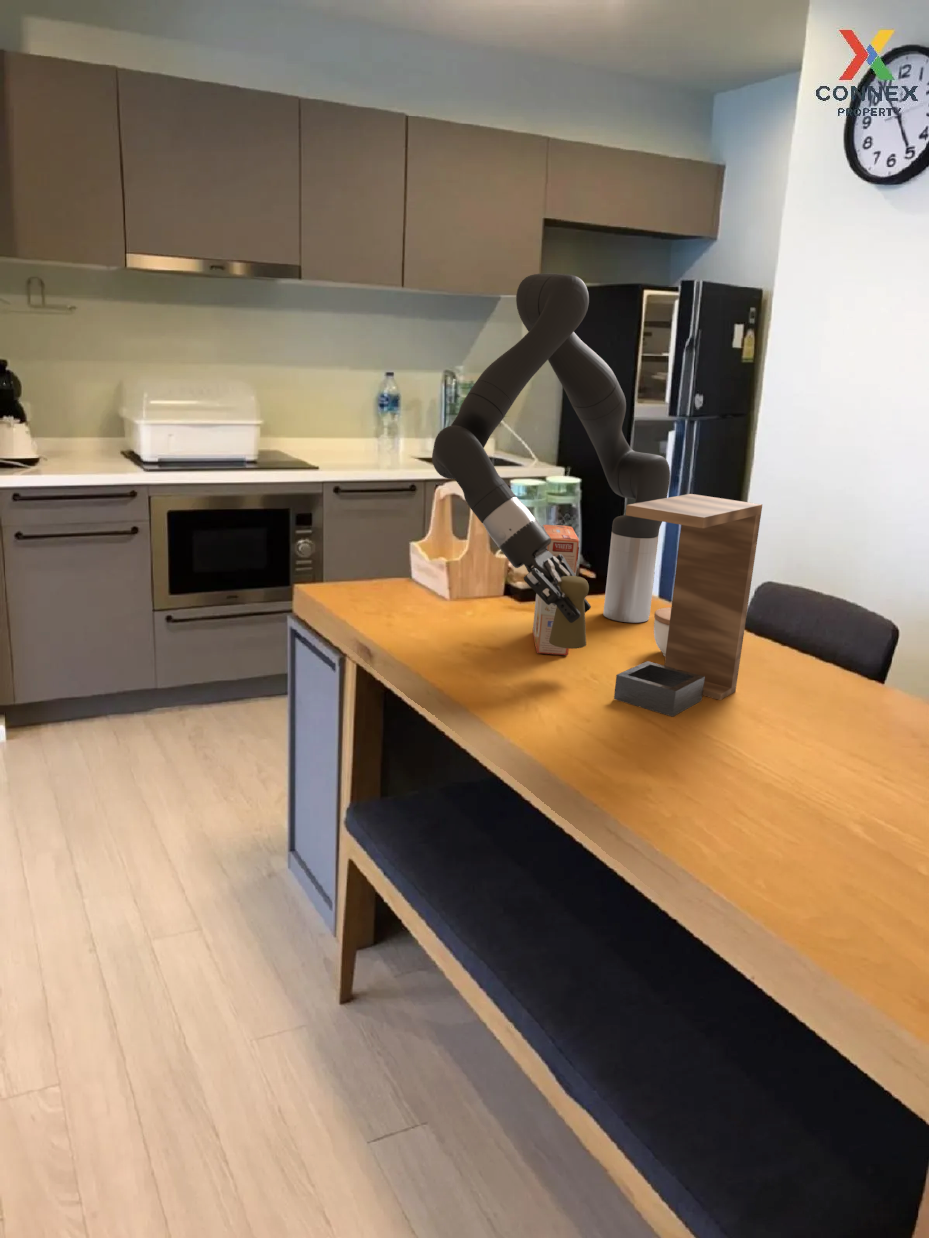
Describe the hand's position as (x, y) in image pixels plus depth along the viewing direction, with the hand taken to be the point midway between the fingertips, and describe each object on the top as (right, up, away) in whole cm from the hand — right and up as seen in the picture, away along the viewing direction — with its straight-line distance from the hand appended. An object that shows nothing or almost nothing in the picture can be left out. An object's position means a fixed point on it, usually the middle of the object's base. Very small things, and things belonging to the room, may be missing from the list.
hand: (581, 615), depth 156 cm
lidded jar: (+20, -8, +19) cm, 28 cm away
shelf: (+14, -13, -3) cm, 19 cm away
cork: (-2, -5, +2) cm, 6 cm away
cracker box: (-3, -5, +21) cm, 22 cm away
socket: (+11, -13, -4) cm, 18 cm away
